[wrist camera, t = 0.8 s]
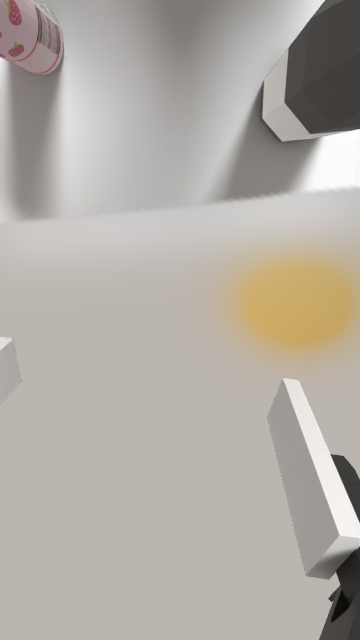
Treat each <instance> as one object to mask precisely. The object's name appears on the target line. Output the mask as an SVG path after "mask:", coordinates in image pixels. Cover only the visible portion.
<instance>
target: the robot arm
mask: <svg viewBox="0 0 360 640" xmlns="http://www.w3.org/2000/svg"><path fill="white" fill-rule="evenodd" d="M21 382H22V380H21V375H20V370H19V365H18V360H17V355H16V349H15V345H14V339H13V338H6V337H0V408H1V407H2V405H3V404H4V403H5V402H6V400H7V399H8V398H9V397H10V395H11V394H12V393H13V392H14V391H15V389H16V388H17V387H18V386H19V384H20V383H21ZM267 419H268V424H269V427H270V432H271V436H272V440H273V444H274V448H275V452H276V456H277V460H278V464H279V468H280V473H281V477H282V481H283V484H284V489H285V493H286V497H287V501H288V505H289V509H290V513H291V517H292V521H293V526H294V529H295V534H296V538H297V542H298V546H299V550H300V554H301V558H302V562H303V566H304V570H305V575H306V576H309V577H315V578H323V579H330V578H331V577H332V576H333V575H334V573H335V572H336V573H337V576H338V579H339V582H340V586H339V587H338V588H337V589H336V590H335V591H334V592H333V593H332V594H331V596H330V597H329V600H330V601H331V602H332V601H333V600H334V601H333V604H332V606H331V609H330V612H329V614H328V617H327V620H326V623H325V625H324V628H323V631H322V634H321V636H320V639H319V640H360V479H359V477H358V475H357V473H356V471H355V469H354V468H353V467H352V466H351V464H350V463H349V462H348V461H347V460H346V459H345V457H344V456H340V455H332V454H330V453H329V450H328V448H327V446H326V443H325V441H324V439H323V436H322V434H321V432H320V429H319V427H318V425H317V422H316V420H315V418H314V415H313V413H312V411H311V408H310V406H309V404H308V401H307V399H306V397H305V394H304V392H303V390H302V387H301V385H300V382H299V380H293V379H286V378H283V379H282V381H281V384H280V386H279V389H278V391H277V394H276V397H275V399H274V401H273V404H272V407H271V409H270V411H269V414H268V416H267Z"/></svg>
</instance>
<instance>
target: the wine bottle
mask: <svg viewBox="0 0 360 640" xmlns="http://www.w3.org/2000/svg"><path fill="white" fill-rule="evenodd" d="M261 121H262V122H263V123H264V124H265V125H266V126H267V128H268V129H269V130H270V131H271V132H272V133H273V134H274V136H275V137H276V138H277V139H278V140H279V141H280V142H282V141H293V140H304V139H313V138H318V137H323V136H328V135H332V134H337V133H342V132H347V131H352V130H356V129H360V0H325V1H324V3H323V4H322V5H321V6H320V8H319V9H318V10H317V11H316V13H315V14H314V15H313V17H312V18H311V19H310V20H309V22H308V23H307V24H306V26H305V27H304V28H303V30H302V31H301V32H300V34H299V35H298V36H297V38H296V39H295V40H294V42H293V43H292V44H291V46H290V47H289V48H288V49H287V51H286V52H285V53H284V55H283V56H282V57H281V59H280V60H279V61H278V63H277V64H276V65H275V67H274V68H273V69H272V71H271V72H270V73H269V75H268V76H267V77H266V79H265V80H264V81H263V84H262V104H261Z"/></svg>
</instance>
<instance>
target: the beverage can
mask: <svg viewBox="0 0 360 640" xmlns="http://www.w3.org/2000/svg"><path fill="white" fill-rule="evenodd" d="M62 54H63V36H62V32H61V28H60V26H59V23H58V21H57V19H56V18H55V16H54V14H53V13H52V12H51V11H50V9H49V8H48V7H47V6H46V5H45V4H44V3H43V2H42V1H41V0H0V57H1V58H3V59H5V60H7V61H9V62H11V63H13V64H15V65H17V66H19V67H21V68H22V69H24V70H26V71H28V72H30V73H33V74H35V75H40V76H41V75H47V74H50V73H52V72H53V71H54V70H55V69H56V68H57V67H58V65H59V63H60V61H61V59H62Z"/></svg>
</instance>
